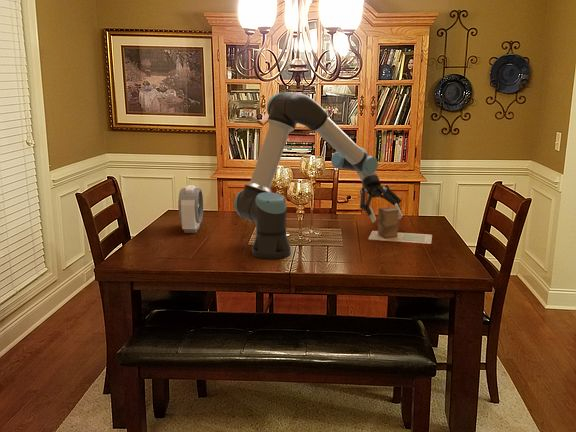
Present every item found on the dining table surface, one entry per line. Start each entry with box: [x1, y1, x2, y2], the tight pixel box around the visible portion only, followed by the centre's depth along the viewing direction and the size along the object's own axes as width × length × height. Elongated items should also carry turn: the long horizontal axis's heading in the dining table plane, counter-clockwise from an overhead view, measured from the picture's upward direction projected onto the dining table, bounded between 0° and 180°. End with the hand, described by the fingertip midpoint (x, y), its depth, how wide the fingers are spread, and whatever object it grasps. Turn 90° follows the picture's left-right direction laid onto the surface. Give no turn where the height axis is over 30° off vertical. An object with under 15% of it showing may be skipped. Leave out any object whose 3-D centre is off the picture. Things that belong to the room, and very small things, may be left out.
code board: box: [367, 230, 433, 245], centre depth 250 cm, size 14×26×1 cm, turn 75°
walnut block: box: [377, 206, 399, 239], centre depth 250 cm, size 6×6×12 cm
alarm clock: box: [177, 184, 204, 234], centre depth 263 cm, size 18×8×20 cm, turn 179°
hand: (387, 219), depth 251 cm, fingers open, 13 cm apart
